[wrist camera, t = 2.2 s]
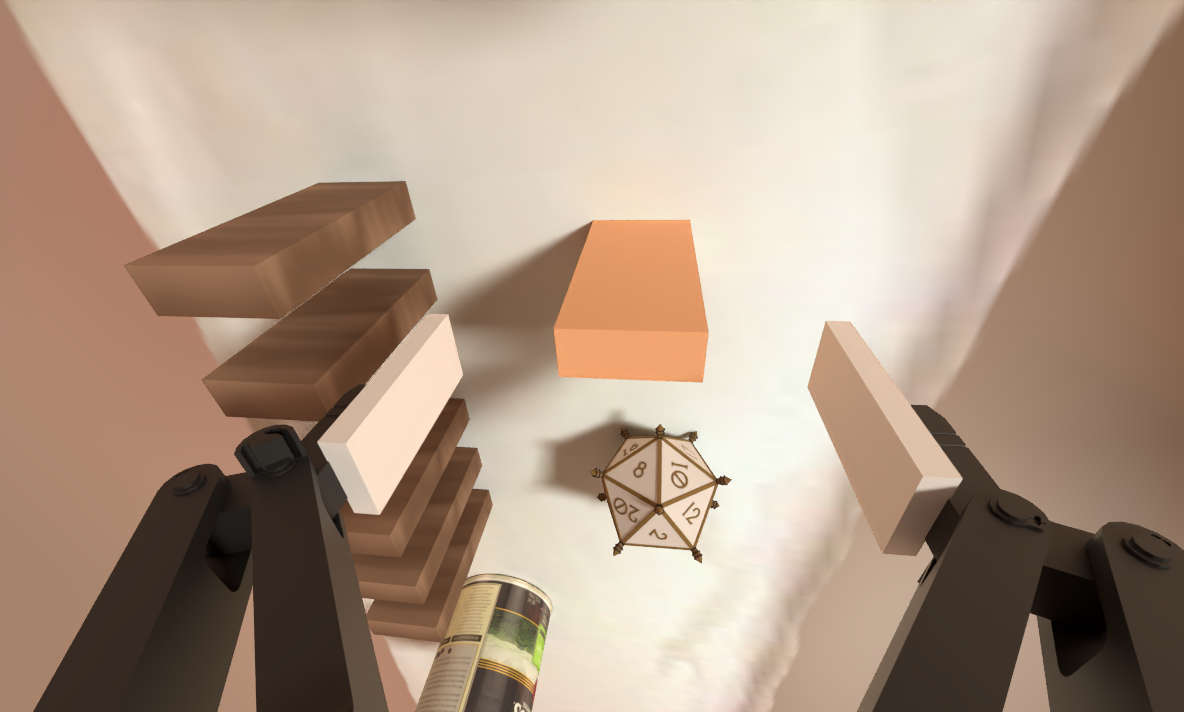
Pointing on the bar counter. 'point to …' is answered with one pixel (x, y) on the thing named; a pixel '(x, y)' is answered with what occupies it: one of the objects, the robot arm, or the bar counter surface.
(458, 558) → the domino
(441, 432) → the domino
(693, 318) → the domino
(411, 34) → the bar counter surface
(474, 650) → the coffee can
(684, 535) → the game die
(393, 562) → the domino
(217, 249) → the domino
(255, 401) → the domino
